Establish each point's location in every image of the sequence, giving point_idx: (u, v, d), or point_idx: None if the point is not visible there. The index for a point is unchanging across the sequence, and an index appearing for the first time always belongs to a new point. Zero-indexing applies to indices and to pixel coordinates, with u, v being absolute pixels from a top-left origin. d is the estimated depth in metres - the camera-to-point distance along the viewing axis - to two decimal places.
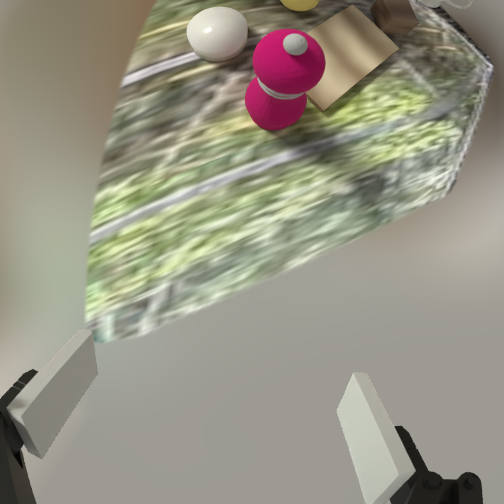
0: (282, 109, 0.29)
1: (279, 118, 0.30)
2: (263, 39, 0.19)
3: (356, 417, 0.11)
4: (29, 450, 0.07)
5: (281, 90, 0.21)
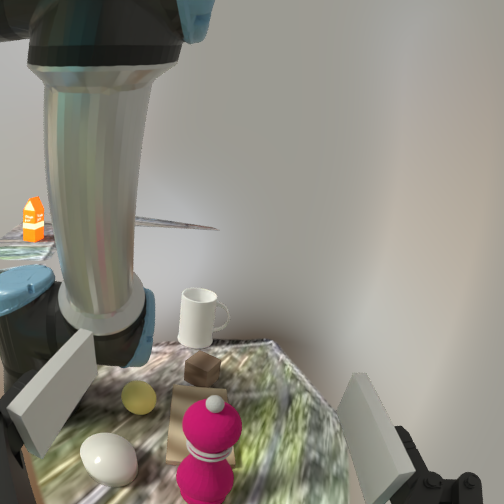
0: (223, 473, 0.27)
1: (226, 482, 0.27)
2: (187, 418, 0.25)
3: (356, 417, 0.11)
4: (29, 450, 0.07)
5: (229, 443, 0.24)
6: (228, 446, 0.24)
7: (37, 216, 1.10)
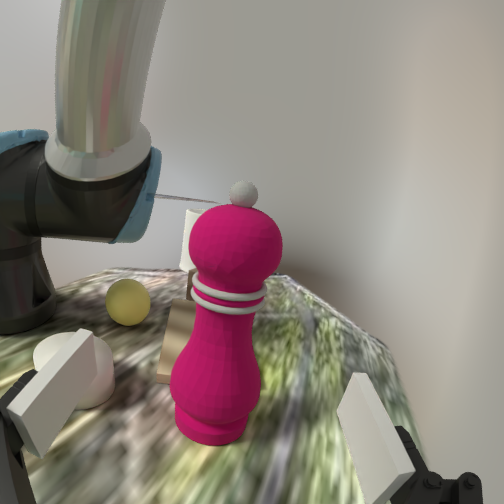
0: (248, 360, 0.20)
1: (251, 381, 0.20)
2: (199, 219, 0.18)
3: (356, 417, 0.11)
4: (29, 450, 0.07)
5: (267, 257, 0.17)
6: (264, 265, 0.17)
7: None
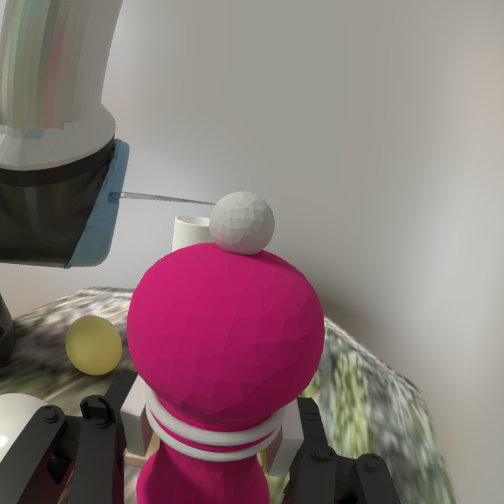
0: (251, 490, 0.10)
1: None
2: (142, 284, 0.08)
3: None
4: (128, 451, 0.09)
5: (297, 378, 0.07)
6: (290, 393, 0.07)
7: None
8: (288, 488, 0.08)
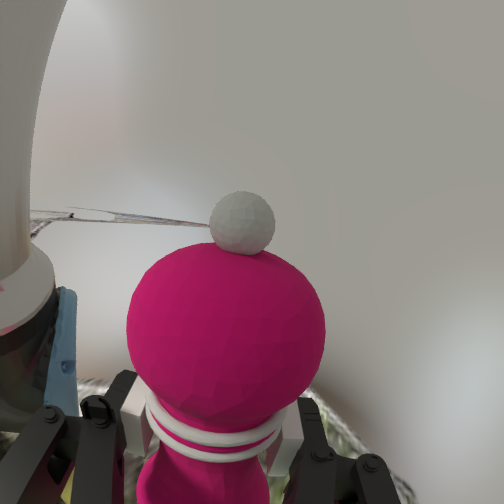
0: (252, 491, 0.10)
1: None
2: (142, 284, 0.08)
3: None
4: (128, 451, 0.09)
5: (298, 379, 0.07)
6: (290, 394, 0.07)
7: None
8: (288, 488, 0.08)
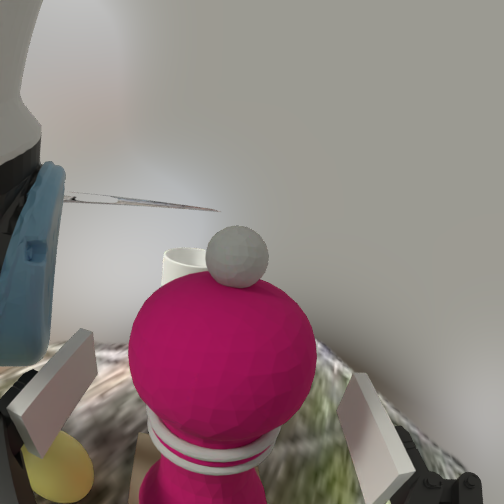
0: (248, 499, 0.10)
1: None
2: (142, 315, 0.08)
3: (356, 417, 0.11)
4: (29, 450, 0.07)
5: (289, 404, 0.07)
6: (282, 417, 0.07)
7: None
8: None
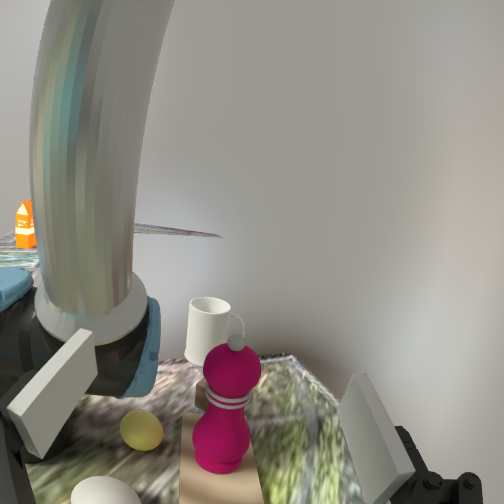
0: (241, 427, 0.30)
1: (243, 439, 0.30)
2: (209, 359, 0.28)
3: (356, 417, 0.11)
4: (29, 450, 0.07)
5: (250, 383, 0.27)
6: (249, 387, 0.27)
7: (31, 221, 1.02)
8: None
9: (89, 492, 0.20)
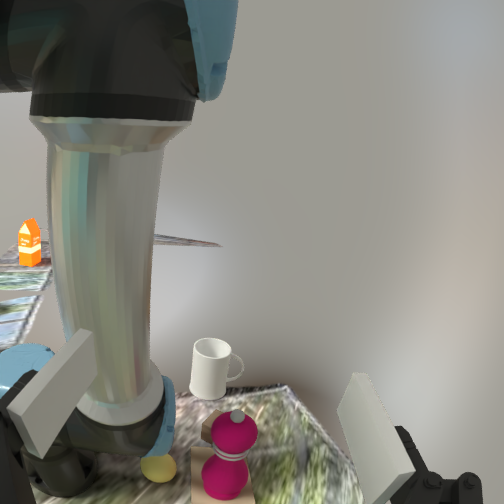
0: (241, 469, 0.34)
1: (243, 477, 0.34)
2: (216, 428, 0.32)
3: (356, 417, 0.11)
4: (29, 450, 0.07)
5: (249, 445, 0.31)
6: (247, 448, 0.31)
7: (33, 240, 1.04)
8: None
9: None
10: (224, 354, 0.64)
